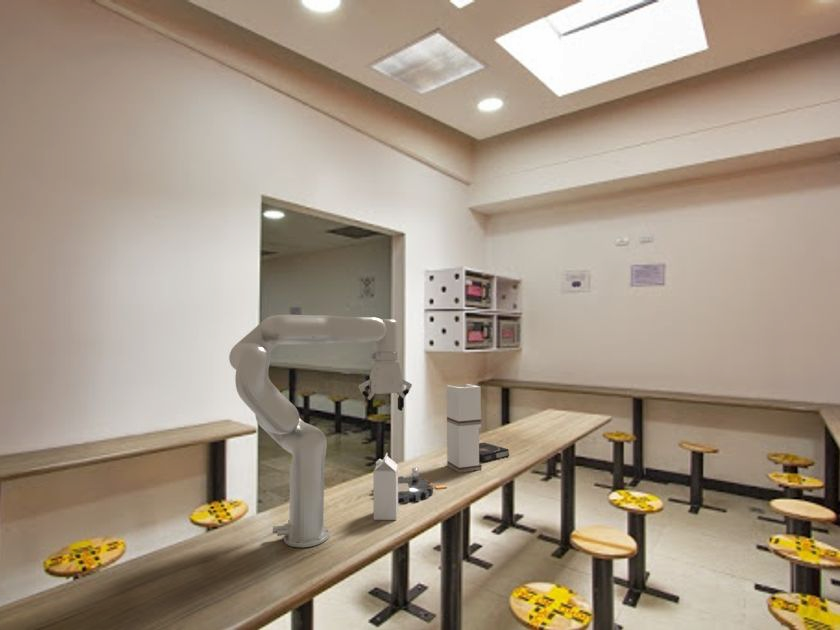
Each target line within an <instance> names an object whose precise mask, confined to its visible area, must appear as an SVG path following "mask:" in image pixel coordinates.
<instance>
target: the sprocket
mask: <svg viewBox="0 0 840 630" xmlns="http://www.w3.org/2000/svg"><path fill="white" fill-rule="evenodd" d="M372 494H373V495H374V493H372ZM433 494H434V483H431V481H430V480H425V479H424V478H423V477H419V468H417V467H413V468H411V476H409V477H404V476H398V502H403V503H409V502H411V501H415V502H419V501H420V502H421V499H428V498H429V497H430V496H432V495H433Z"/></svg>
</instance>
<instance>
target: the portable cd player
mask: <svg viewBox="0 0 840 630" xmlns="http://www.w3.org/2000/svg"><path fill="white" fill-rule="evenodd" d="M508 456H509V457H510V452H509V449H508V448H505V447H503V446H498V445H494V444H491V443H487V442H479V461H480V462H479V463H482V462H483V463H482V464H484V462H485V463H489V462H492V460H494V461H497V460H496V459H498V460H501V459H500V458H502V459H505V458H504V457H506V458H509V457H508ZM488 461H489V462H488Z"/></svg>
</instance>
